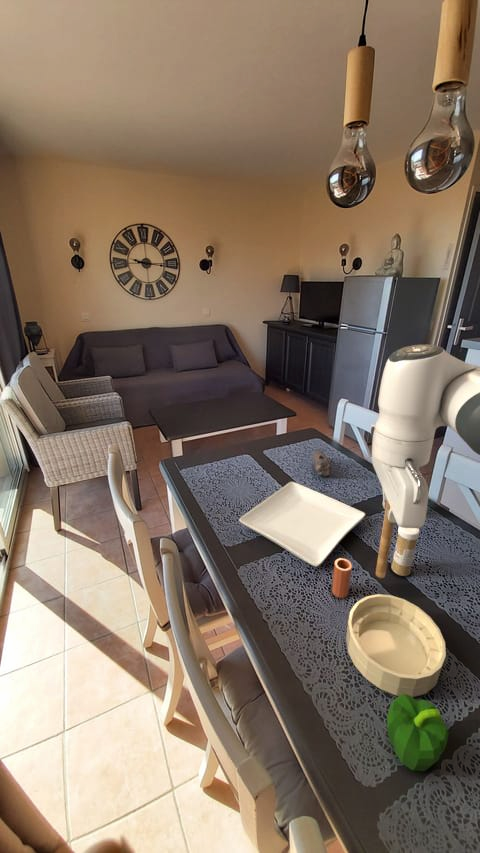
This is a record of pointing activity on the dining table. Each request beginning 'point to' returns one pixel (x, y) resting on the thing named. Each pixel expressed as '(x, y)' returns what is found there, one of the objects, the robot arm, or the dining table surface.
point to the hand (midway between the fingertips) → (390, 514)
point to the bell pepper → (416, 732)
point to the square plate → (303, 521)
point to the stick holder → (341, 577)
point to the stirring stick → (384, 545)
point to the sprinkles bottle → (404, 550)
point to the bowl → (395, 645)
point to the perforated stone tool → (321, 464)
